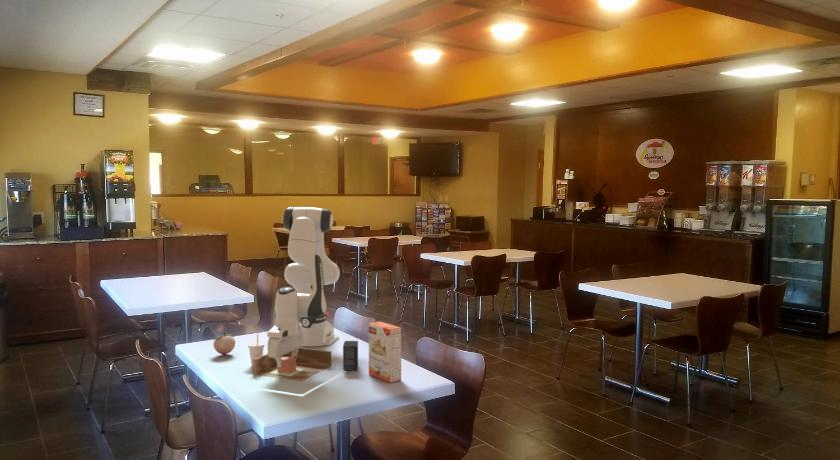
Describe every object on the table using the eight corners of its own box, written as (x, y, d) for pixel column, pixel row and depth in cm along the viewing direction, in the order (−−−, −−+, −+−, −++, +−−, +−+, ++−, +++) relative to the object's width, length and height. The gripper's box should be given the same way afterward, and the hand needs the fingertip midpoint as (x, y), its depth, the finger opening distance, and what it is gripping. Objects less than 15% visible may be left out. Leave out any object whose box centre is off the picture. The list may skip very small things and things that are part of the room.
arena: (285, 361, 253) (285, 345, 252) (331, 367, 245) (331, 351, 244) (253, 376, 232) (253, 359, 232) (301, 383, 224) (301, 365, 224)
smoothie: (260, 370, 240) (259, 336, 239) (245, 369, 241) (245, 335, 240) (267, 365, 246) (267, 332, 245) (253, 364, 247) (252, 331, 247)
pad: (283, 366, 242) (283, 366, 242) (304, 369, 239) (304, 369, 239) (268, 373, 233) (268, 373, 233) (290, 376, 229) (290, 376, 229)
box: (344, 365, 247) (344, 340, 247) (358, 365, 248) (358, 340, 247) (342, 371, 239) (342, 345, 239) (357, 371, 240) (357, 345, 239)
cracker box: (367, 375, 235) (367, 322, 234) (380, 372, 239) (380, 320, 237) (389, 383, 224) (389, 329, 223) (401, 380, 228) (402, 326, 227)
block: (296, 370, 237) (296, 358, 236) (290, 373, 233) (290, 360, 233) (283, 368, 239) (283, 356, 239) (277, 371, 235) (277, 359, 235)
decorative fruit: (223, 359, 256) (223, 336, 255) (210, 356, 260) (210, 333, 259) (240, 354, 264) (239, 331, 263) (227, 351, 268) (226, 329, 267)
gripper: (294, 322, 246) (294, 355, 246) (264, 333, 227) (264, 369, 227) (307, 324, 243) (307, 357, 244) (278, 335, 224) (278, 371, 225)
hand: (286, 363), depth 236 cm, fingers open, 8 cm apart
